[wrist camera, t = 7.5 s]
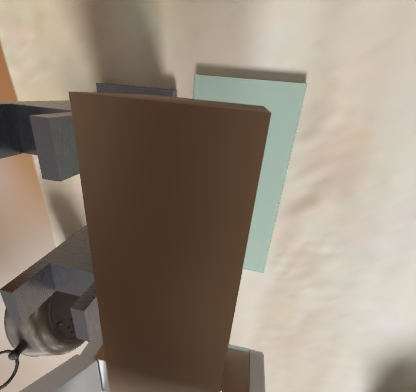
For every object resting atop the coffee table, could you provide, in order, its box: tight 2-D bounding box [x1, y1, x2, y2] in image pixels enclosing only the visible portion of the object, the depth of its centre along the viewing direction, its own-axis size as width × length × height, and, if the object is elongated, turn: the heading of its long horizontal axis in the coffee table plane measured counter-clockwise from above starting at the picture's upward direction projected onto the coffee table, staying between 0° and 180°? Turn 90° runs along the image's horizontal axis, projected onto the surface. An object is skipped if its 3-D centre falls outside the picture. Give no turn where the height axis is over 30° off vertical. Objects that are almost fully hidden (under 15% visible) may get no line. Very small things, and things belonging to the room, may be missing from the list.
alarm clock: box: [0, 291, 85, 390], centre depth 28 cm, size 11×5×16 cm, turn 15°
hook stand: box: [0, 83, 177, 342], centre depth 21 cm, size 8×18×15 cm, turn 175°
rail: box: [69, 92, 271, 392], centre depth 9 cm, size 3×18×3 cm, turn 175°
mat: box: [194, 74, 307, 273], centre depth 26 cm, size 10×21×1 cm, turn 175°
